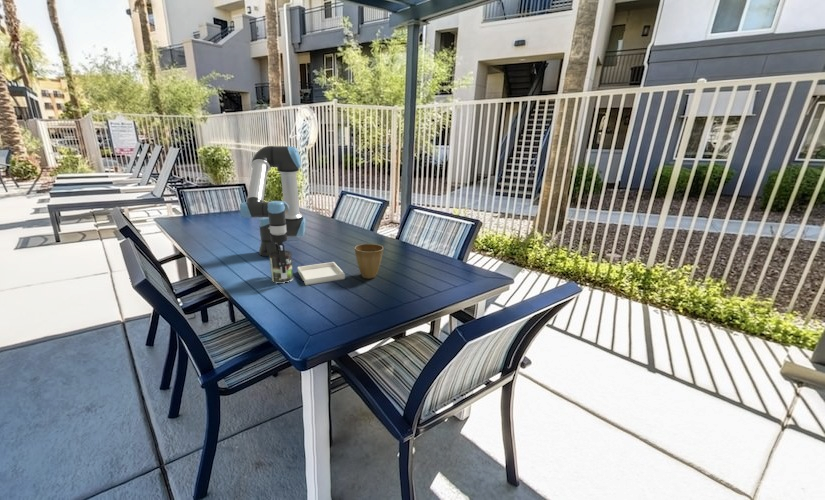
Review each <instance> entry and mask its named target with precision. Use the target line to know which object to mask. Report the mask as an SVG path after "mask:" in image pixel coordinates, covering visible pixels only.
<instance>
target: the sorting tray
mask: <svg viewBox="0 0 825 500" xmlns="http://www.w3.org/2000/svg"><path fill="white" fill-rule="evenodd" d="M297 273H298V274H299V276H300V278H301V280H302V282H303V281H304V282H303V283H304V285H305V286H310V285H317V284H322V283H328V282H336V281H341V280H342V281H343V280H346V273H345V272H344V271H343V270H342V269H341V267H340V266H338V265H337V263H336V262H335V261H331V262H324V263H316V264H315V263H314V264H309V265H302V266H297Z"/></svg>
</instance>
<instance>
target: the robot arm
mask: <svg viewBox="0 0 825 500" xmlns="http://www.w3.org/2000/svg"><path fill="white" fill-rule="evenodd" d="M301 160H302V159H301V156H300V152H299V149H298V148H297V147H295V146H290V145H288V146H287V145H284V146H283V145H281V146H280V145H279V146H277V145H273V146H272V145H267V146H263V147H262V148H260V149H259V150H258V151H257V152H256V153H255V154H254V156H253V158H252V159H251V168H252V172H251V175H250V182H249V188H248V193H247V198H246V201H244V202H241V204H240V206H239V213H240V215H241V216H242V217H243V218H249V219H250V218H251V219H252V218H260V219H259V220H258V221H259V222H258V223H259V225H258V227H259V234H260V245H259V246H260V247H259V249H258V253H259V254H260V255H259V256H261V255H262V256H261V257H264V256H269V254H270V253H272V252H275V251H276V252H277V254H279V259H280V265H279V267H280V270H281V279H286V278H287V269H286V266H287V263H286V256H285V251H286V247H285V244H284V242H287V241H288V238H299V237H300V238H301V237H304V235H305V230H306V222H307V221H306V220H307V219H306V218H305V217H303V214H302V213H301V212H300V201H299V190H298V179H297V178H298V177H297V173H298V172H299V171H300V169H301V167H302V161H301ZM271 168H276V169H277V172H278V173H279V174H280V178H281V179H280V180H281V188H282V189H281V190H282V197H283V199H282V200H272V201H269V202H266V201H265V202H264V199H265V192H266V187H267V186H266V185H267V179H268V172H269V171H270V170H271ZM268 258H270V256H269V257H268ZM284 263H285V264H284Z"/></svg>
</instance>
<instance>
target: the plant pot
mask: <svg viewBox="0 0 825 500" xmlns="http://www.w3.org/2000/svg"><path fill="white" fill-rule="evenodd" d="M354 254H355V257H356V258H355V259H356V262H357V263H356V264H357V265H358V266H357V267H358V269H359V271H360V276H361V277H362V278H363V279H375V278H376V277H377V274H378V272H379V269H380V266H381V263H382V258H383V254H384V247H383V245H380V244H376V243H362V244H357V245H356V246H355V247H354Z"/></svg>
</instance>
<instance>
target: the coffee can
mask: <svg viewBox="0 0 825 500" xmlns="http://www.w3.org/2000/svg"><path fill="white" fill-rule="evenodd" d="M269 256H270V257H269V262H270V263H269V264H270V273H271V282H272V281H273V282H276V283H275V284H277V283H283V284H286V283H285V282H288V283H290V282H292V281H294V275H293V274H294V273H293V262H292V261H293V260H292V252H291V251H290V250H289V251H288V250H285V256H286V263H287V266H286V269H287V278H286V279H281V270H280V267H279V265H280V259H279V254H277V252H276V251H275V252H272V253H270V254H269ZM284 264H285V263H284ZM289 281H290V282H289ZM273 282H272V283H273Z"/></svg>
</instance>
